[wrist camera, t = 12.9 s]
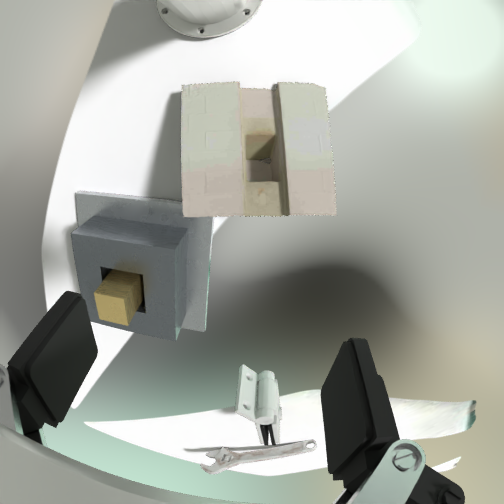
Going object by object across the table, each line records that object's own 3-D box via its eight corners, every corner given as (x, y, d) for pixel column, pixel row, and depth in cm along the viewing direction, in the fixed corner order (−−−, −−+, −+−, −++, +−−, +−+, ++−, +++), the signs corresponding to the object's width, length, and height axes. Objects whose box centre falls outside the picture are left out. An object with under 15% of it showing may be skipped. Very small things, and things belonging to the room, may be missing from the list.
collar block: (80, 190, 37) (50, 208, 31) (215, 205, 37) (203, 228, 31) (94, 303, 46) (75, 330, 40) (206, 326, 47) (197, 359, 40)
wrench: (313, 432, 66) (203, 450, 68) (313, 429, 65) (201, 447, 67) (319, 457, 59) (202, 475, 61) (319, 455, 58) (199, 472, 60)
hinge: (238, 364, 50) (233, 410, 41) (267, 358, 49) (266, 405, 40) (264, 405, 56) (262, 446, 47) (289, 401, 55) (291, 443, 46)
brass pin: (126, 252, 40) (93, 292, 31) (152, 256, 40) (123, 299, 31) (129, 276, 42) (99, 319, 33) (153, 280, 42) (128, 325, 33)
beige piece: (185, 128, 37) (182, 236, 33) (178, 83, 28) (167, 205, 25) (308, 127, 38) (326, 231, 35) (325, 84, 30) (354, 201, 26)
